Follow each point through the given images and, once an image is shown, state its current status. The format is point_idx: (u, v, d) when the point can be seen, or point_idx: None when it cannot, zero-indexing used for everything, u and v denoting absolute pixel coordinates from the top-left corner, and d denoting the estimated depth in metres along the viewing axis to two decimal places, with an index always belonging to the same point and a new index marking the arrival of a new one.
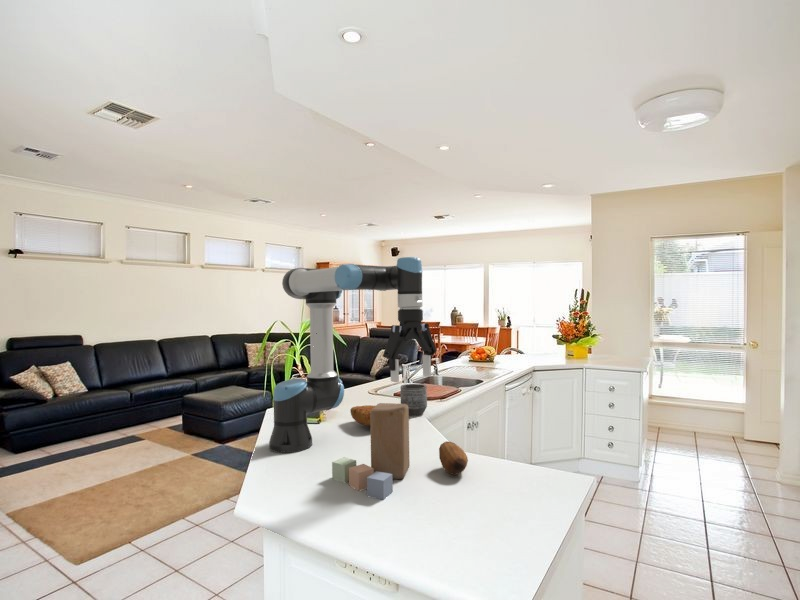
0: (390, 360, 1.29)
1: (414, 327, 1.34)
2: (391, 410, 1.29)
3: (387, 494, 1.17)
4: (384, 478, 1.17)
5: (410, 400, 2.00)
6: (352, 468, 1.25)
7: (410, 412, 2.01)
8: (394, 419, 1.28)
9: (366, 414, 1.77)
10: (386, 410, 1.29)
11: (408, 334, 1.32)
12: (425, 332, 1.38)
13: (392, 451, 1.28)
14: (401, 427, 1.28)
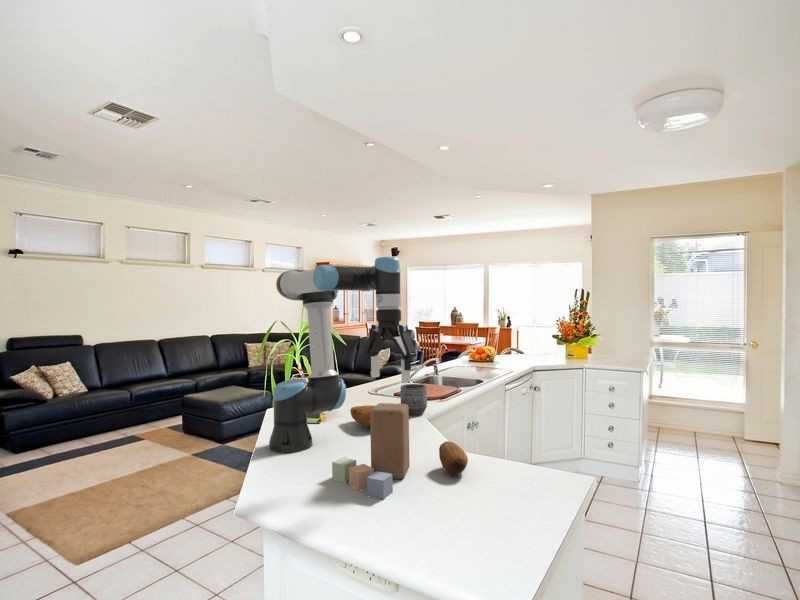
0: None
1: (387, 327, 1.33)
2: (391, 410, 1.29)
3: (387, 494, 1.17)
4: (384, 478, 1.17)
5: (410, 400, 2.00)
6: (352, 468, 1.25)
7: (410, 412, 2.01)
8: (394, 419, 1.28)
9: (366, 414, 1.77)
10: (386, 410, 1.29)
11: (379, 334, 1.34)
12: None
13: (392, 451, 1.28)
14: (401, 427, 1.28)
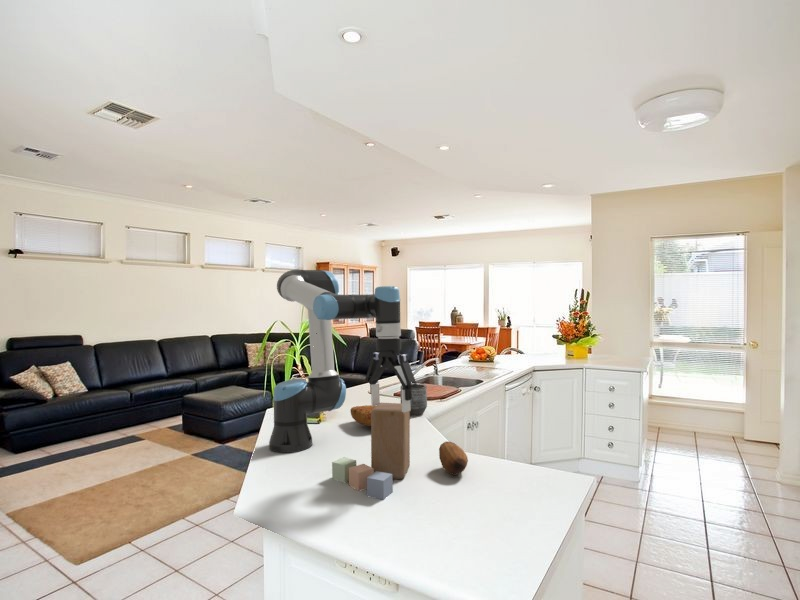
0: None
1: (387, 357, 1.33)
2: (392, 410, 1.29)
3: (387, 494, 1.17)
4: (384, 478, 1.17)
5: (410, 400, 2.00)
6: (352, 468, 1.25)
7: (410, 412, 2.01)
8: (395, 419, 1.28)
9: (366, 414, 1.77)
10: (387, 410, 1.29)
11: (379, 362, 1.35)
12: None
13: (392, 451, 1.28)
14: (402, 427, 1.28)
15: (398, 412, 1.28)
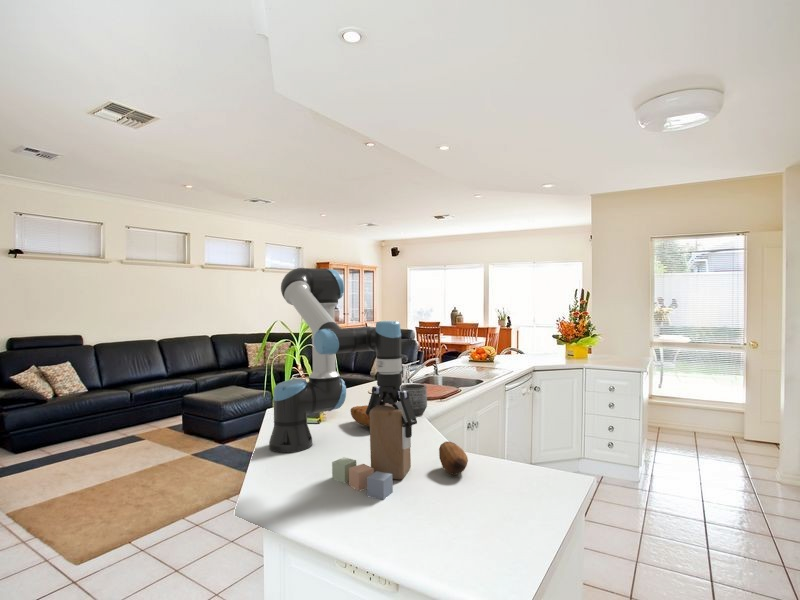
0: None
1: (388, 392, 1.32)
2: (390, 410, 1.29)
3: (387, 494, 1.17)
4: (384, 478, 1.17)
5: (410, 400, 2.00)
6: (352, 468, 1.25)
7: None
8: (393, 419, 1.28)
9: (366, 414, 1.77)
10: (385, 410, 1.29)
11: (380, 397, 1.34)
12: None
13: (391, 451, 1.28)
14: (400, 427, 1.27)
15: (395, 412, 1.28)
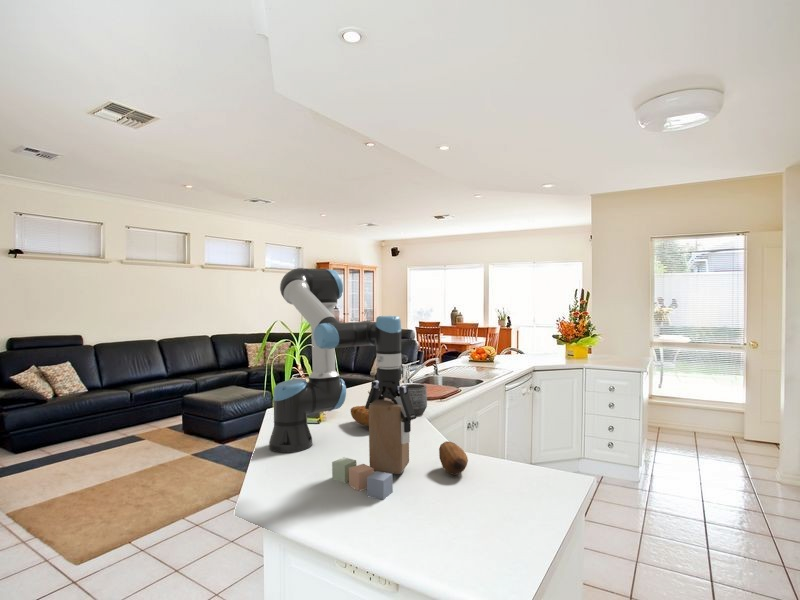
0: None
1: (387, 387, 1.33)
2: (389, 405, 1.29)
3: (387, 494, 1.17)
4: (384, 478, 1.17)
5: None
6: (352, 468, 1.25)
7: None
8: (392, 414, 1.28)
9: (366, 414, 1.77)
10: (384, 405, 1.29)
11: (379, 392, 1.35)
12: None
13: (389, 445, 1.28)
14: (399, 422, 1.28)
15: (395, 407, 1.28)
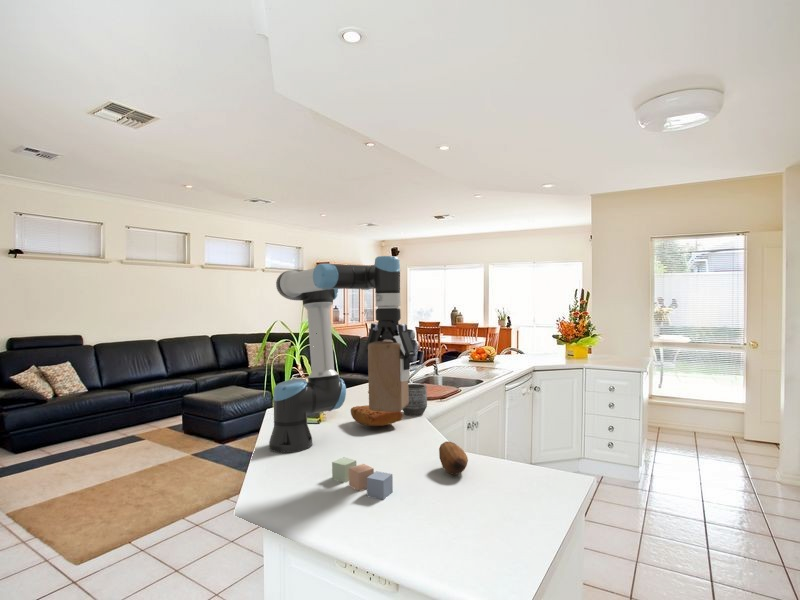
0: None
1: (386, 326, 1.33)
2: (388, 343, 1.29)
3: (387, 494, 1.17)
4: (384, 478, 1.17)
5: (410, 400, 2.00)
6: (352, 468, 1.25)
7: (410, 412, 2.01)
8: (391, 352, 1.28)
9: (366, 414, 1.77)
10: (383, 343, 1.30)
11: (378, 333, 1.35)
12: None
13: (389, 383, 1.29)
14: (398, 360, 1.28)
15: (394, 345, 1.28)
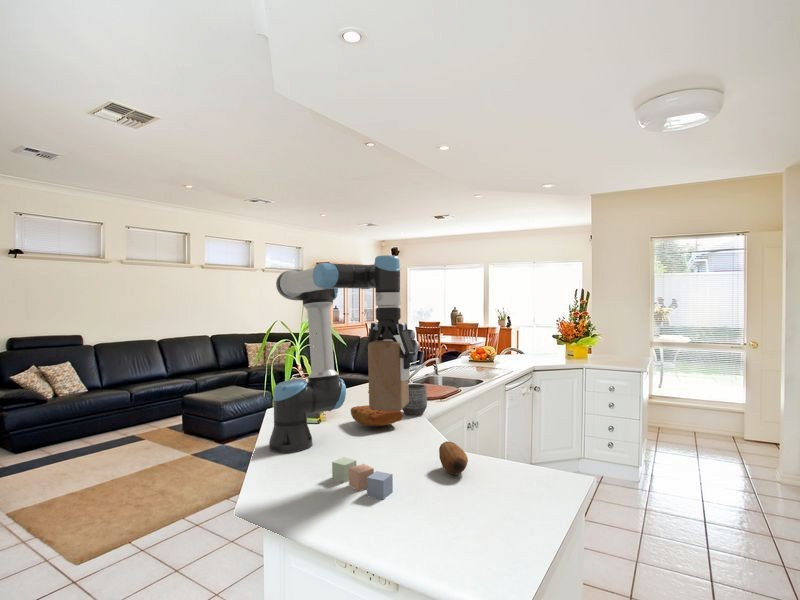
0: None
1: (386, 326, 1.33)
2: (388, 342, 1.29)
3: (387, 494, 1.17)
4: (384, 478, 1.17)
5: (410, 400, 2.00)
6: (352, 468, 1.25)
7: (410, 412, 2.01)
8: (391, 351, 1.28)
9: (367, 414, 1.77)
10: (383, 342, 1.30)
11: (378, 332, 1.35)
12: None
13: (389, 383, 1.28)
14: (398, 359, 1.28)
15: (394, 344, 1.28)
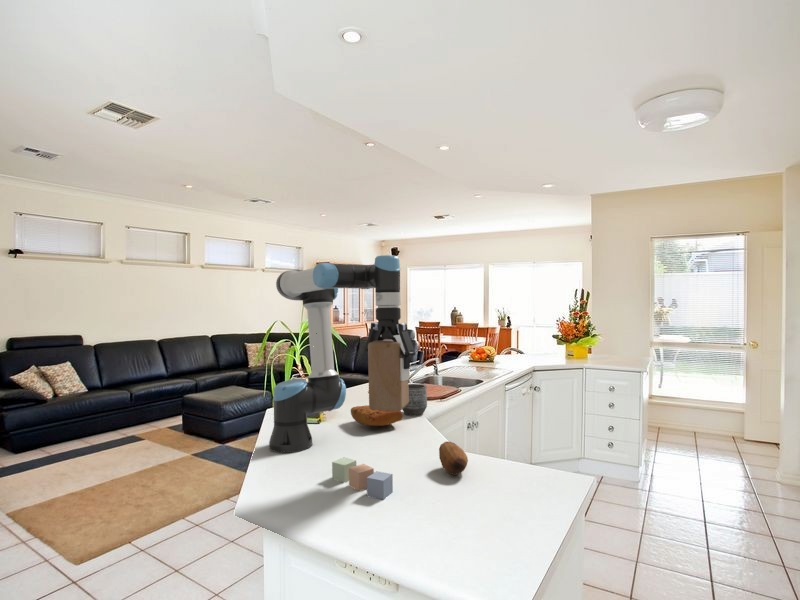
0: None
1: (386, 326, 1.33)
2: (388, 342, 1.29)
3: (387, 494, 1.17)
4: (384, 478, 1.17)
5: (410, 400, 2.00)
6: (352, 468, 1.25)
7: (410, 412, 2.01)
8: (391, 351, 1.28)
9: (367, 414, 1.77)
10: (383, 342, 1.30)
11: (378, 332, 1.35)
12: None
13: (389, 383, 1.28)
14: (398, 359, 1.28)
15: (394, 344, 1.28)
